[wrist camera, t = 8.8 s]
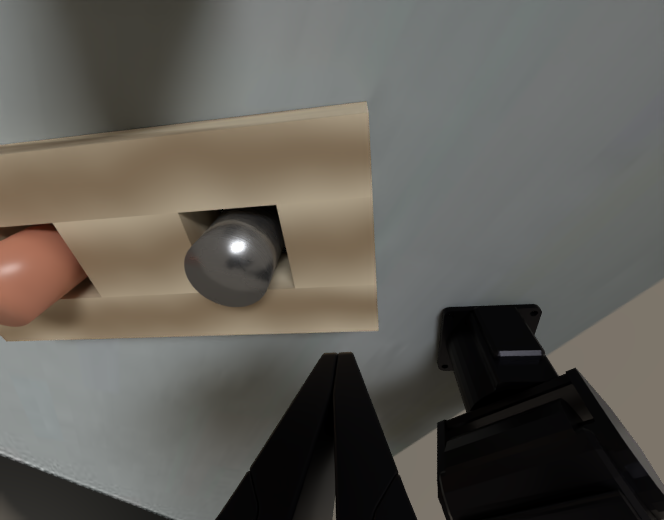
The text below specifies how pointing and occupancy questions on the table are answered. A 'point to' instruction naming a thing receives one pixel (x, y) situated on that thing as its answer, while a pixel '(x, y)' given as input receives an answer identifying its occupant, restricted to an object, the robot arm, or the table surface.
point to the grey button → (236, 256)
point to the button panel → (201, 222)
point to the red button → (35, 273)
